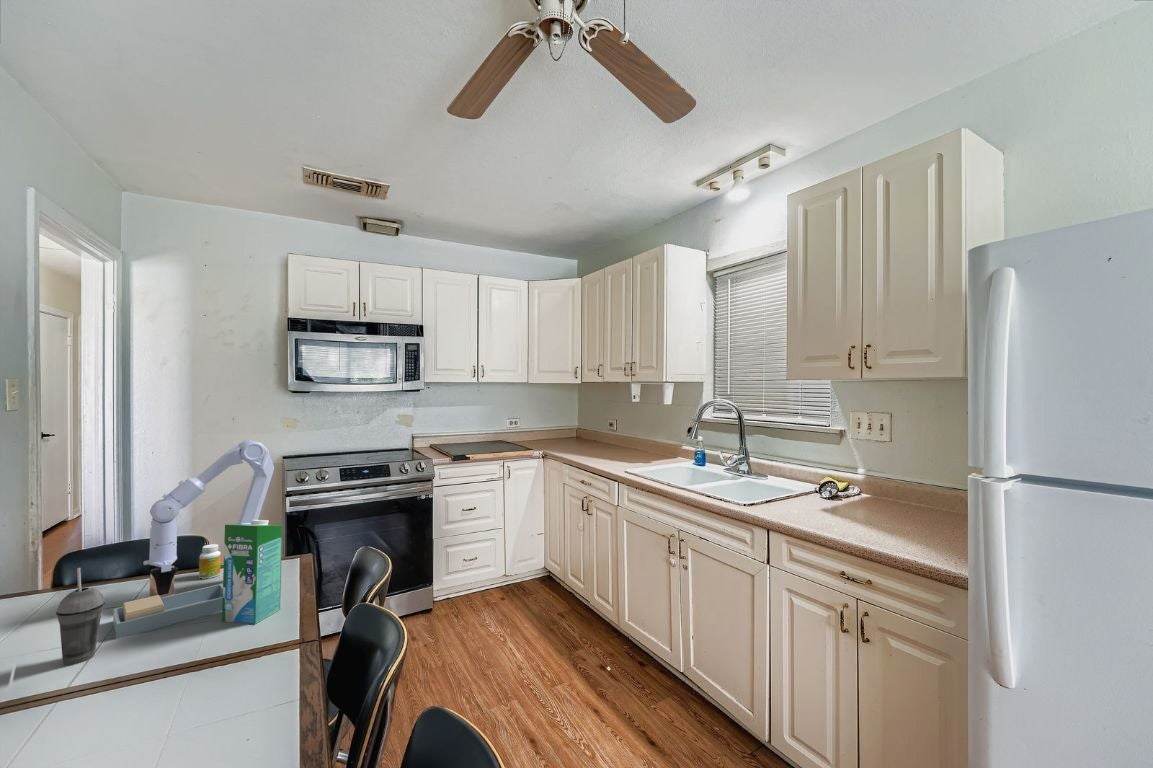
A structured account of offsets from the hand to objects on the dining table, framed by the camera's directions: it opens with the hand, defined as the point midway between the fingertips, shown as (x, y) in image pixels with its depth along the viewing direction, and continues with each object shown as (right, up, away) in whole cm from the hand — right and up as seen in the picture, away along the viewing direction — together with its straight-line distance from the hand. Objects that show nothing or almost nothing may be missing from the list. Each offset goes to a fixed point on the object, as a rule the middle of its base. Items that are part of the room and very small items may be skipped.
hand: (161, 591), depth 131 cm
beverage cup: (+9, -2, -30) cm, 32 cm away
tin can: (0, -3, 0) cm, 3 cm away
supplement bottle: (-1, -4, +19) cm, 19 cm away
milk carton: (+32, -3, -9) cm, 33 cm away
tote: (+12, -3, -10) cm, 15 cm away
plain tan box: (+8, -2, -14) cm, 16 cm away
